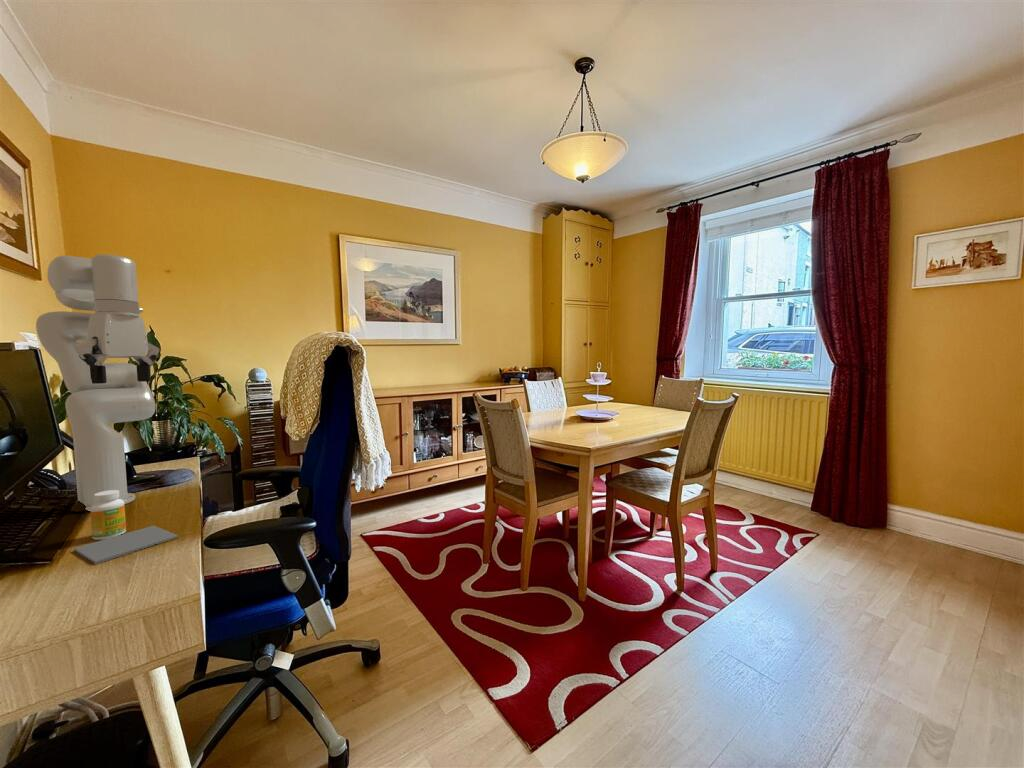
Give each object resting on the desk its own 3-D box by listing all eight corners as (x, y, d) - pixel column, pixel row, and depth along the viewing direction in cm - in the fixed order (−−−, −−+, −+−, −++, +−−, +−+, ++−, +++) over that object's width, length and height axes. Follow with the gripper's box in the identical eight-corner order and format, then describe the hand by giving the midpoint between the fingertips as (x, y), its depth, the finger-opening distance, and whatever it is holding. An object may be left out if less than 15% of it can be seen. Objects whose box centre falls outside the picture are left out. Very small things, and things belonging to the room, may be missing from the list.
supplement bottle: (105, 541, 87) (102, 497, 87) (85, 539, 88) (82, 496, 88) (132, 530, 93) (129, 489, 92) (113, 529, 94) (110, 488, 93)
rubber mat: (74, 551, 83) (73, 548, 83) (154, 527, 94) (153, 525, 94) (95, 564, 77) (95, 561, 77) (178, 538, 88) (177, 535, 88)
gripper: (142, 314, 105) (147, 381, 105) (58, 305, 87) (64, 384, 88) (167, 313, 103) (172, 380, 104) (87, 303, 86) (93, 384, 87)
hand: (122, 382), depth 96 cm, fingers open, 9 cm apart
